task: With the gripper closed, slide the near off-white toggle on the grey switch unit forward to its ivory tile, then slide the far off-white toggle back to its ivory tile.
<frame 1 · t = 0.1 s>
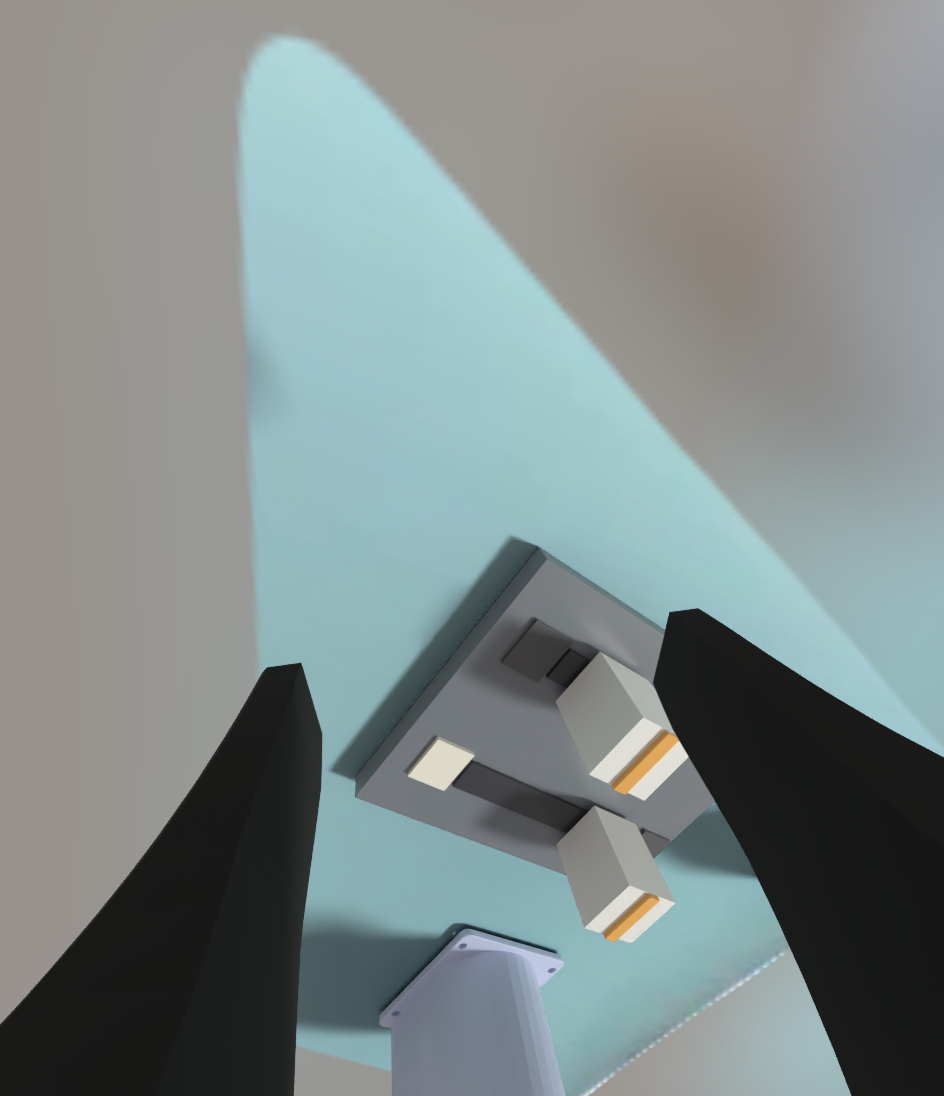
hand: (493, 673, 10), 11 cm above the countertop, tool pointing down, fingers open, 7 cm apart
toggle A: (612, 873, 25), point 4 cm above the countertop, slide at -3.0 cm
toggle B: (622, 724, 21), point 4 cm above the countertop, slide at 3.0 cm
switch unit: (579, 739, 26), on the countertop
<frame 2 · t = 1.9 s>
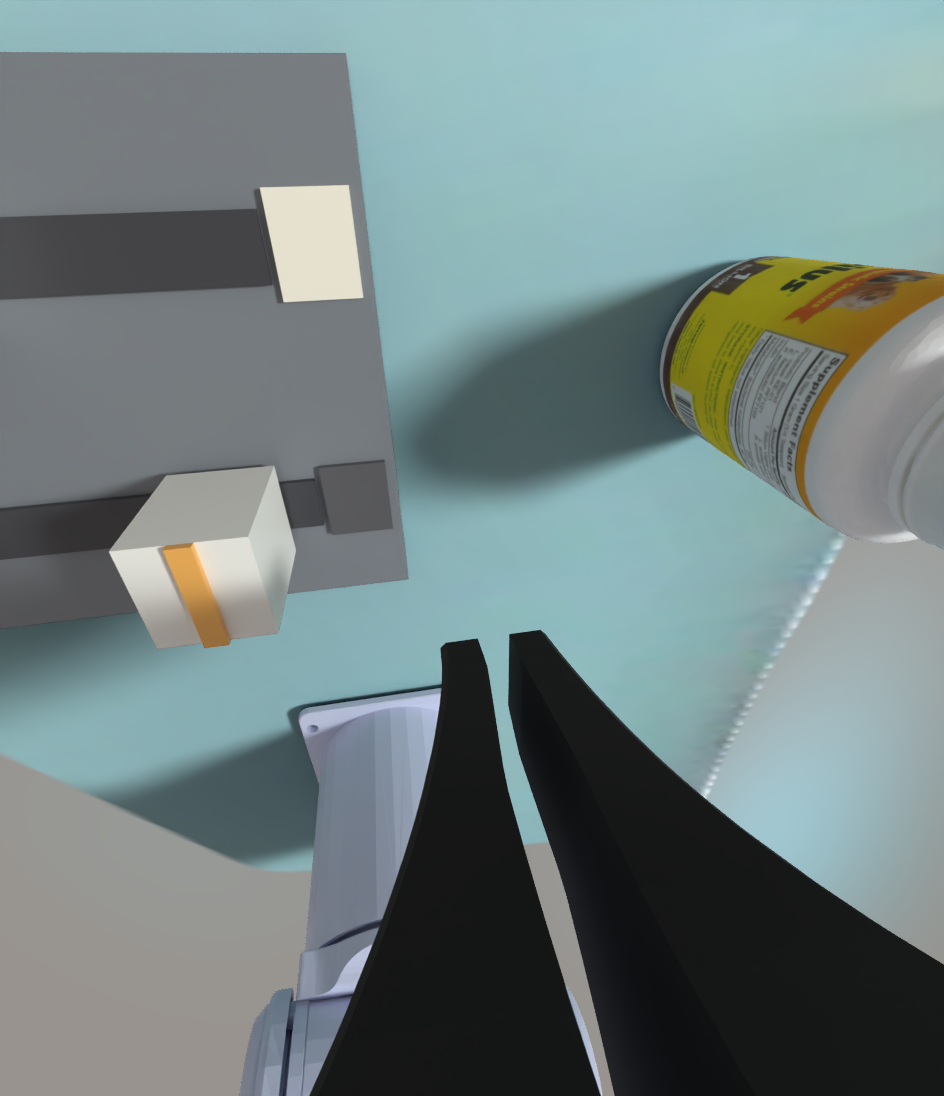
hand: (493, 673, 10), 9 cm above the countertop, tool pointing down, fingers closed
toggle A: (219, 552, 14), point 4 cm above the countertop, slide at -3.0 cm
switch unit: (85, 395, 15), on the countertop
supplement bottle: (727, 346, 17), on the countertop
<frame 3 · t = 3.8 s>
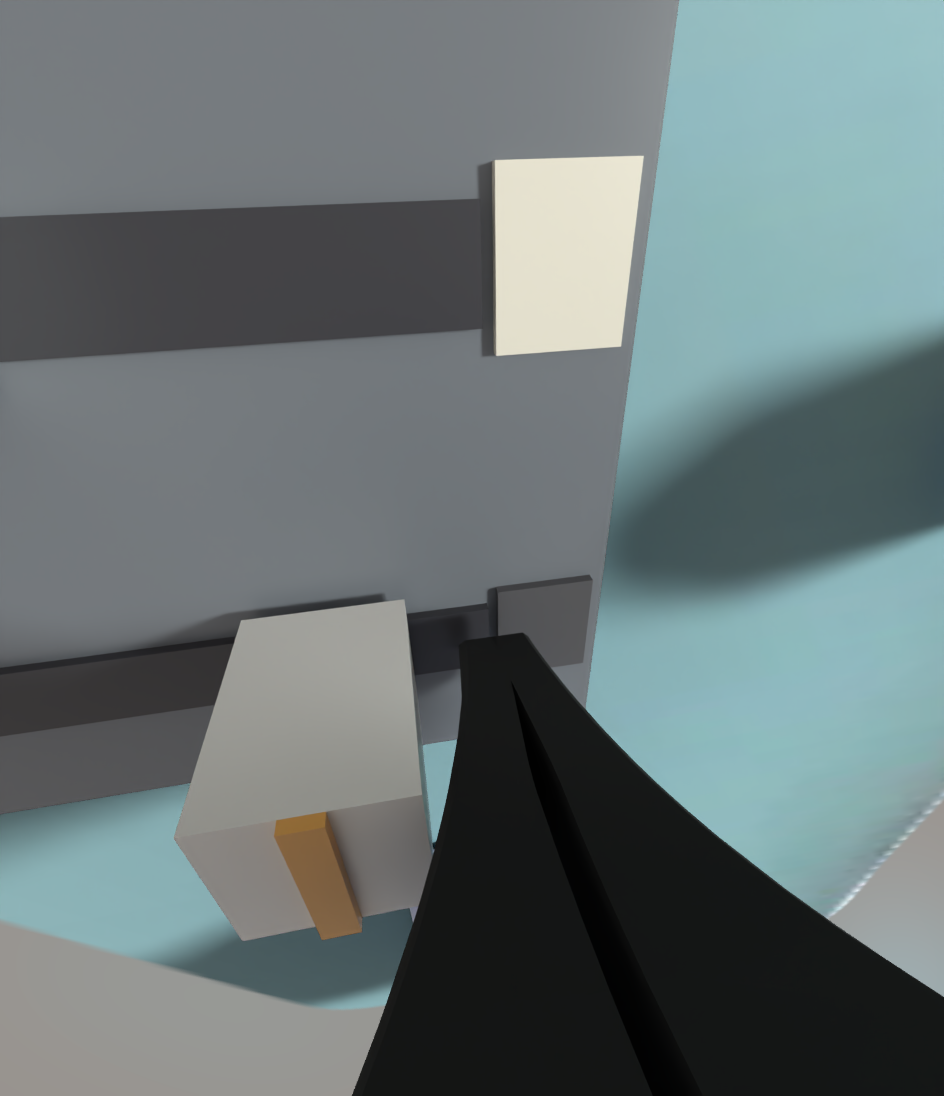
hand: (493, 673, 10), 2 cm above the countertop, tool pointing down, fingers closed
toggle A: (332, 756, 9), point 4 cm above the countertop, slide at -2.3 cm, touching gripper
switch unit: (153, 491, 10), on the countertop
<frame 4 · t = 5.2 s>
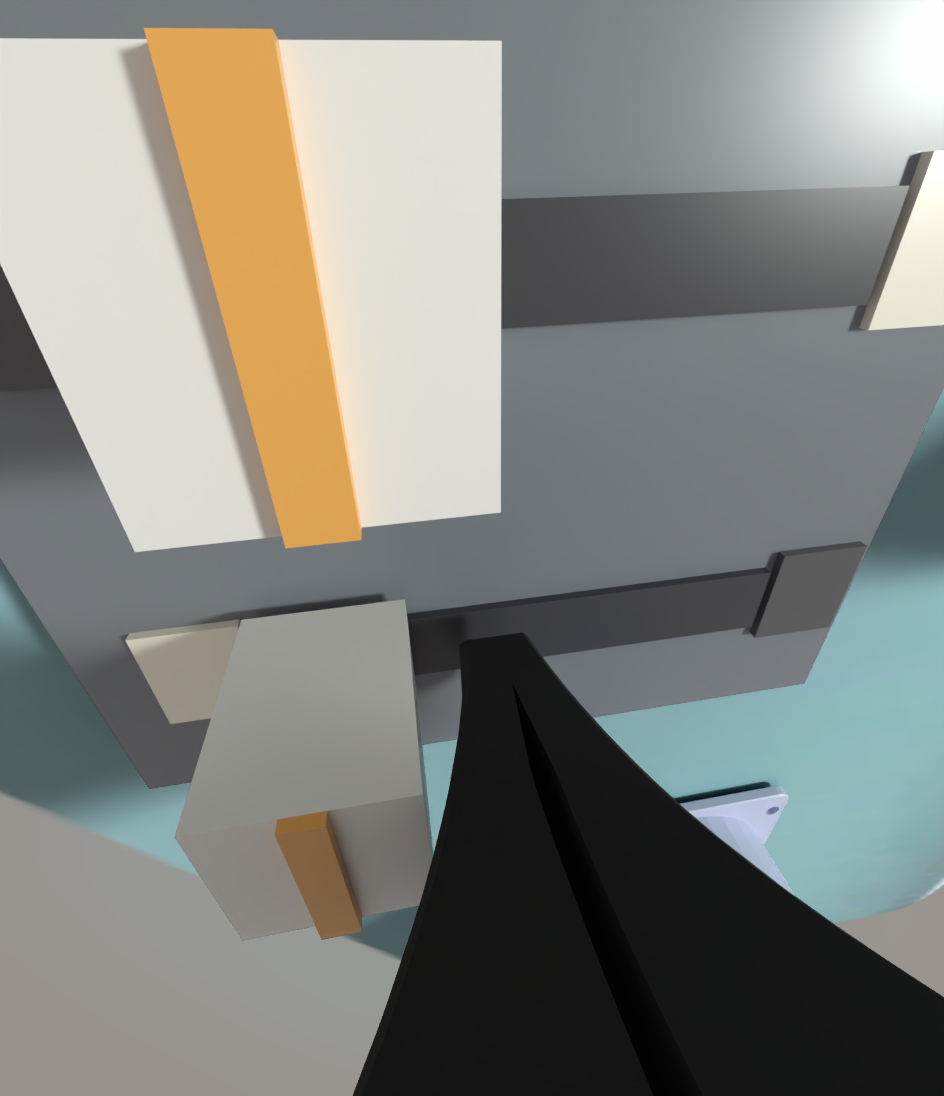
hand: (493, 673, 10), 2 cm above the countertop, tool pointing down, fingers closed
toggle A: (332, 755, 9), point 4 cm above the countertop, slide at 4.0 cm, touching gripper
toggle B: (310, 301, 5), point 4 cm above the countertop, slide at 3.0 cm
switch unit: (490, 458, 10), on the countertop
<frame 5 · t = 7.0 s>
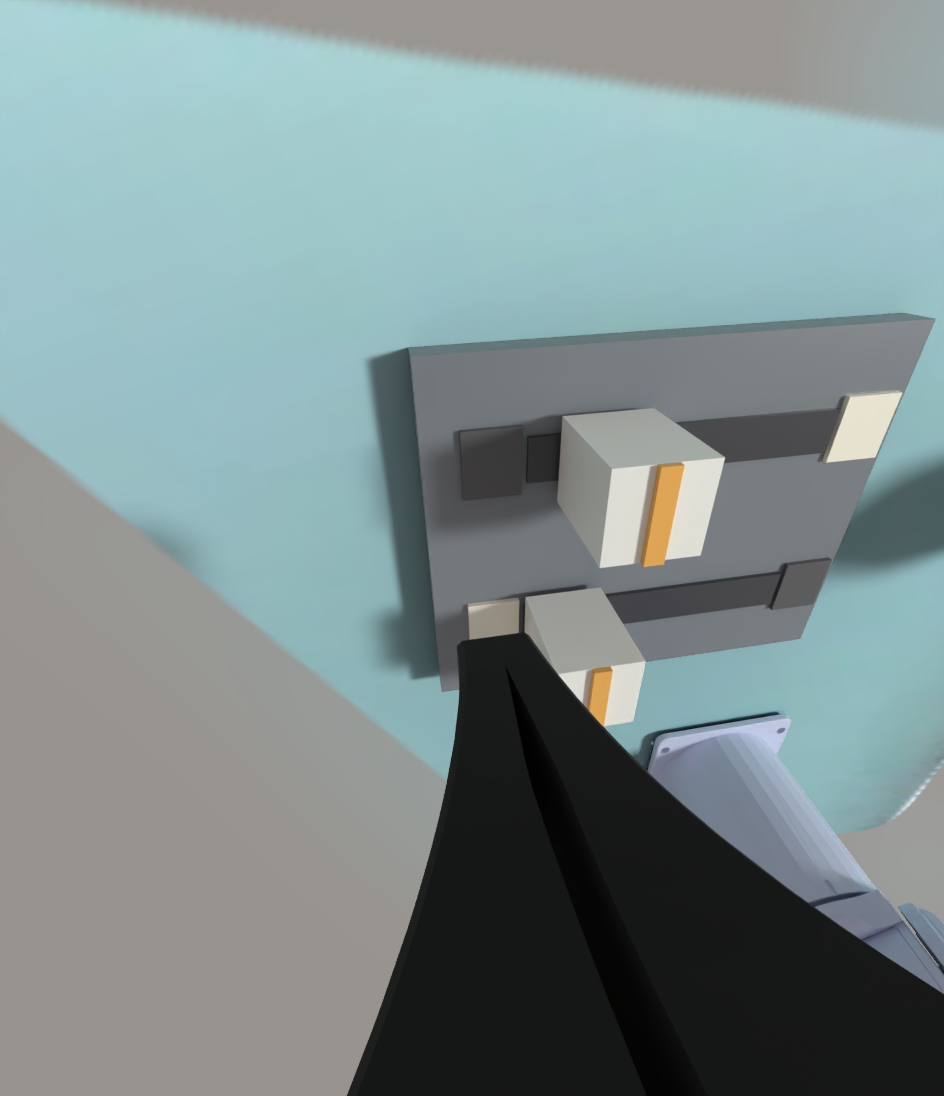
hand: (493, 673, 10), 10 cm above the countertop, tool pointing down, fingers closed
toggle A: (578, 659, 19), point 4 cm above the countertop, slide at 4.0 cm
toggle B: (629, 484, 15), point 4 cm above the countertop, slide at 3.0 cm
switch unit: (639, 517, 21), on the countertop
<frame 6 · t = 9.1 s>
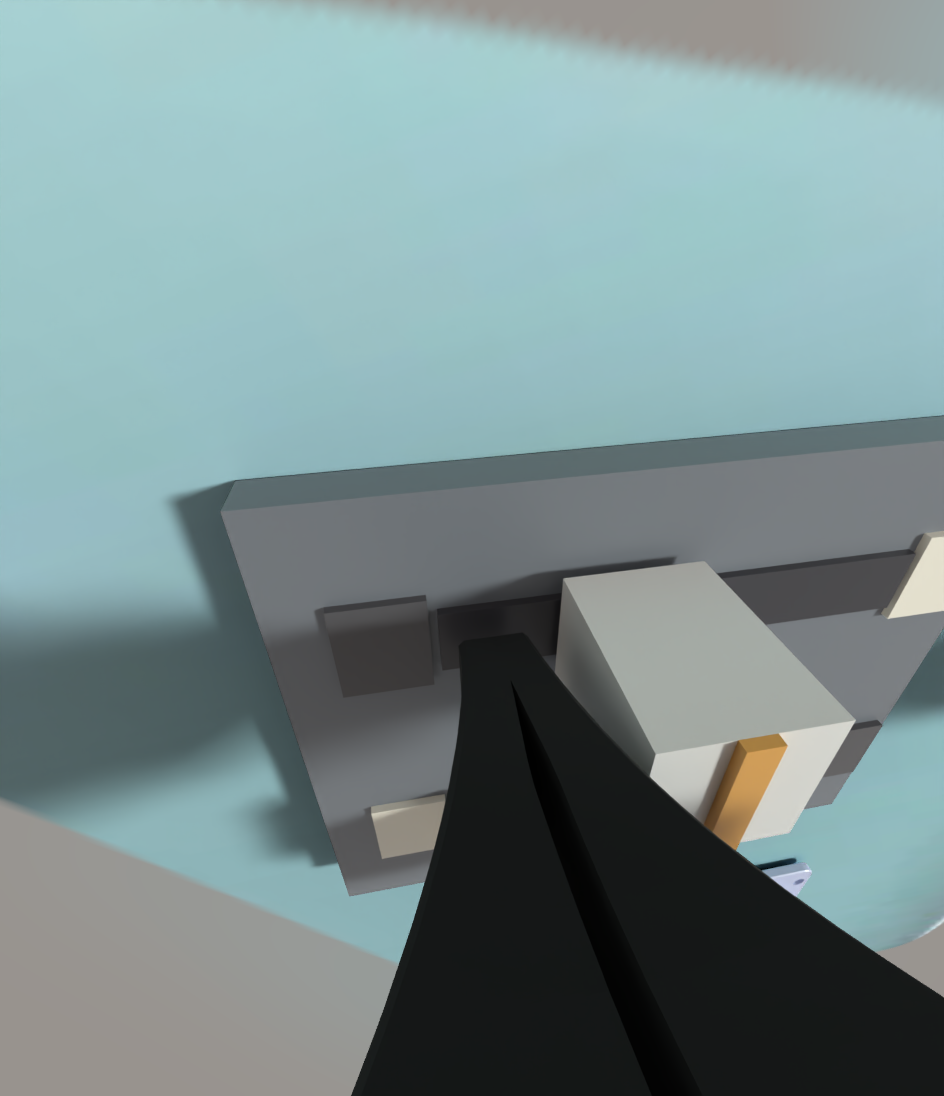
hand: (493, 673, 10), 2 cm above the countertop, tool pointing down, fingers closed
toggle B: (671, 701, 10), point 4 cm above the countertop, slide at 1.5 cm, touching gripper
switch unit: (617, 676, 15), on the countertop
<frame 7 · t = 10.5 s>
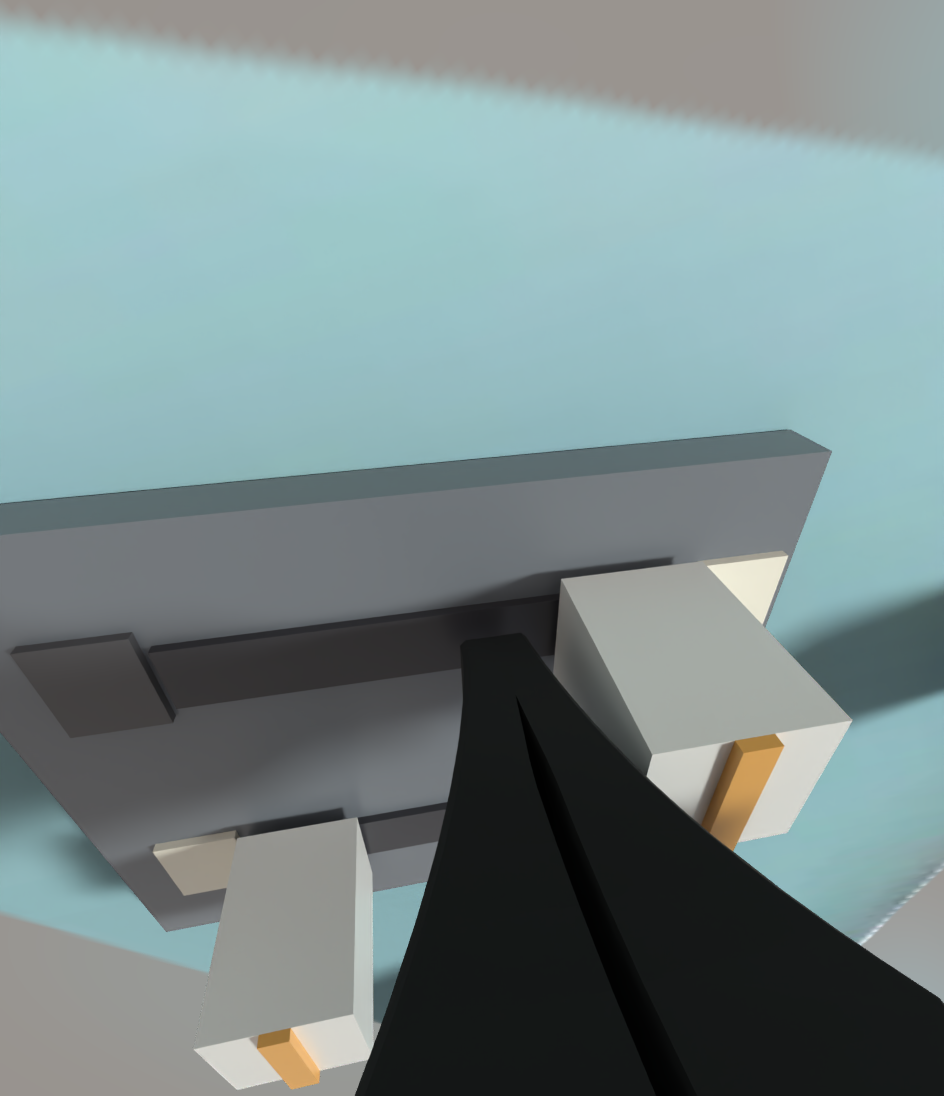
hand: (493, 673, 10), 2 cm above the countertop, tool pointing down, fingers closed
toggle A: (301, 947, 12), point 4 cm above the countertop, slide at 4.0 cm
toggle B: (669, 701, 10), point 4 cm above the countertop, slide at -4.0 cm, touching gripper
switch unit: (422, 705, 14), on the countertop
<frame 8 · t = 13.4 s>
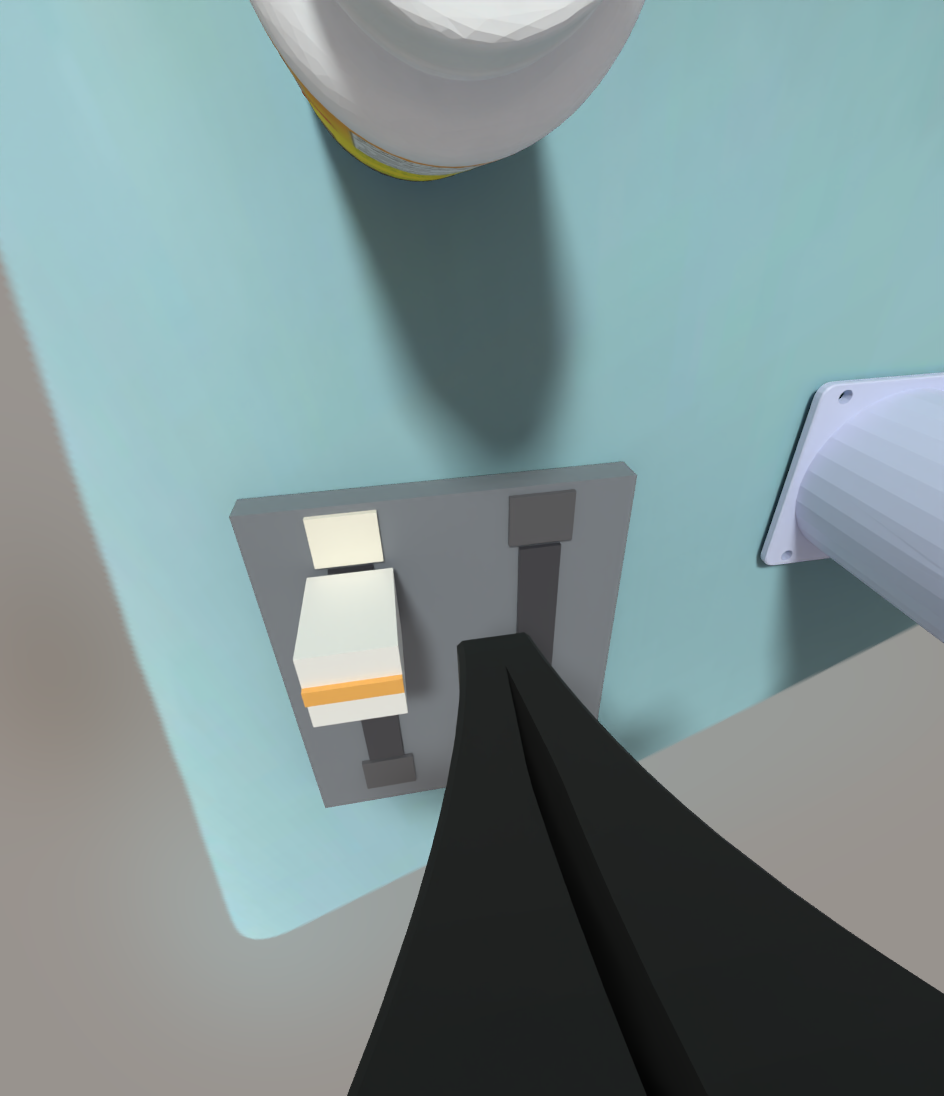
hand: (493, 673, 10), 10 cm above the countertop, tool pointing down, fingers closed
toggle B: (355, 645, 17), point 4 cm above the countertop, slide at -4.0 cm
switch unit: (450, 650, 23), on the countertop
supplement bottle: (408, 44, 13), on the countertop
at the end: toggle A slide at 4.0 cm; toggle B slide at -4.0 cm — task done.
